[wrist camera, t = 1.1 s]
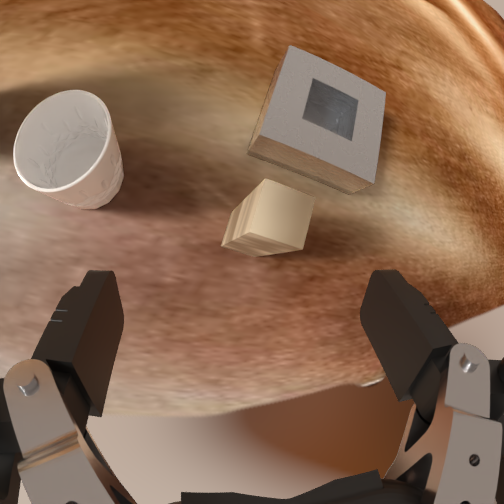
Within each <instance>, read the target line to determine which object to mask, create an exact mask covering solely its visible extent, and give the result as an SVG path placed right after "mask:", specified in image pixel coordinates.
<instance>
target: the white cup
mask: <svg viewBox="0 0 504 504" xmlns="http://www.w3.org/2000/svg"><path fill="white" fill-rule="evenodd" d="M13 158H14V165H15V168H16V171H17V173H18V175H19V177H20V178H21V180H22V181H23V182H24V183H25V184H26V185H28V186H29V187H31V188H32V189H35V190H37V191H39V192H41V193H43V194H45V195H47V196H49V197H51V198H53V199H55V200H58V201H61V202H63V203H65V204H68V205H72V206H75V207H77V208H79V209H97V208H99V207H101V206H103V205H105V204H107V203H109V202H110V201H111V200H112V198H113V197H114V196H115V195H116V194H117V193H118V191H119V190H120V187H121V183H122V180H123V177H124V171H123V163H122V158H121V153H120V149H119V145H118V141H117V138H116V134H115V131H114V128H113V124H112V121H111V117H110V113H109V111H108V109H107V107H106V105H105V104H104V102H103V101H102V100H101V99H100V98H99V97H97V96H96V95H94V94H92V93H90V92H87V91H83V90H67V91H62V92H59V93H56V94H54V95H52V96H50V97H48V98H46V99H45V100H43V101H42V102H40V103H39V104H38V105H37V106H36V107H35V108H34V109H33V110H32V111H31V112H30V113H29V114H28V115H27V117H26V118H25V119H24V121H23V123H22V124H21V126H20V128H19V130H18V133H17V136H16V139H15V143H14V150H13Z"/></svg>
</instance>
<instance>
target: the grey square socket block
mask: <svg viewBox="0 0 504 504" xmlns="http://www.w3.org/2000/svg"><path fill="white" fill-rule="evenodd" d="M385 96H386V92H384V91H382V90H380V89H379V88H377V87H375V86H374V85H372V84H370V83H368V82H366V81H365V80H363V79H361V78H359V77H357V76H355V75H353V74H352V73H350V72H348V71H346V70H344V69H342V68H340V67H338V66H336V65H334V64H332V63H330V62H327V61H325V60H323V59H321V58H319V57H317V56H314V55H312V54H310V53H308V52H305V51H303V50H301V49H298V48H296V47H294V46H291V45H290V46H289V47H288V49H287V51H286V52H285V54H284V56H283V58H282V59H281V61H280V63H279V65H278V66H277V68H276V70H275V73H274V76H273V79H272V81H271V84H270V87H269V90H268V93H267V96H266V99H265V101H264V104H263V107H262V110H261V113H260V116H259V119H258V122H257V125H256V128H255V131H254V134H253V136H252V139H251V142H250V145H249V148H248V151H247V154H248V155H251V156H254V157H256V158H259V159H262V160H265V161H267V162H270V163H273V164H275V165H278V166H281V167H283V168H286V169H288V170H291V171H293V172H296V173H298V174H301V175H303V176H306V177H308V178H311V179H313V180H316V181H318V182H321V183H323V184H325V185H328V186H330V187H332V188H335V189H337V190H339V191H342V192H344V193H346V194H348V195H349V194H351V193H354V192H356V191H359V190H361V189H363V188H366V187H368V186H370V185H373V184H374V182H375V176H376V169H377V163H378V156H379V149H380V141H381V133H382V125H383V116H384V106H385Z"/></svg>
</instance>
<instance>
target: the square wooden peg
mask: <svg viewBox="0 0 504 504" xmlns="http://www.w3.org/2000/svg"><path fill="white" fill-rule="evenodd" d="M315 199H316V197H314V196H311V195H308V194H306V193H303V192H301V191H298V190H296V189H293V188H290V187H288V186H285V185H283V184H280V183H277V182H275V181H272V180H269V179H266V178H265V179H264V180H263V181H262V182H261V183H260V184H259V185H258V186H257V187H256V188H255V189H254V190H253V191H252V192H251V193H250V194H249V195H248V196H247V197H246V198H245V199H244V200H243V201H242V202H241V203H240V204H239V205H238V206H237V207H236V208H235V209H234V210H233V211H232V212H231V214H230V218H229V221H228V224H227V227H226V231H225V234H224V237H223V241H222V244H221V247H224V248H227V249H230V250H234V251H237V252H240V253H243V254H246V255H250V256H253V257H258V256H264V255H271V254H277V253H284V252H290V251H297V250H303V246H304V242H305V239H306V235H307V231H308V227H309V223H310V219H311V215H312V211H313V207H314V203H315Z"/></svg>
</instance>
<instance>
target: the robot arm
mask: <svg viewBox="0 0 504 504" xmlns="http://www.w3.org/2000/svg"><path fill="white" fill-rule="evenodd" d="M360 320H361V324H362V326H363V328H364V330H365V332H366V334H367V336H368V338H369V340H370V342H371V344H372V346H373V348H374V350H375V352H376V354H377V356H378V359H379V361H380V363H381V365H382V367H383V369H384V371H385V373H386V375H387V377H388V379H389V381H390V384H391V386H392V388H393V390H394V392H395V394H396V397H397V399H398V401H399V402H401V401H405V400H408V399H413V400H414V402H415V404H414V405H413V407H412V408H411V411H410V414H409V418H408V422H407V425H406V429H405V432H404V436H403V439H402V442H401V445H400V448H399V451H398V454H397V457H396V459H395V461H394V462H393V464H392V466H391V467H390V468H389V470H388V471H387V473H386V475H385V477H384V479H381V478H380V475H379V472H378V470H373V471H370V472H366V473H362V474H358V475H355V476H350V477H345V478H341V479H337V480H333V481H331V482H329V483H327V484H324V485H322V486H320V487H318V488H315V489H313V490H311V491H308V492H306V493H303V494H301V495H298V496H296V497H293V498H290V499H276V498H267V497H259V496H252V495H245V494H239V493H234V492H229V493H227V492H226V493H191V492H181V501H179V502H173V503H170V504H494V501H495V499H496V501H497V504H504V358H503V359H502V360H488V359H487V357H486V356H485V355H484V353H483V352H482V351H481V350H479V349H478V348H477V347H475V346H473V345H470V344H467V343H460V344H459V343H458V342H457V340H456V339H455V338H454V336H453V335H452V333H451V332H450V331H449V329H448V328H447V326H446V325H445V324H444V322H443V321H442V320H441V318H440V317H439V315H438V314H436V311H435V310H434V309H433V307H432V306H431V305H429V302H428V301H427V300H426V298H425V297H424V296H423V294H422V293H421V292H420V291H418V290H417V289H416V288H414V287H413V286H411V285H410V284H408V283H407V281H406V280H405V279H404V278H403V276H402V275H401V274H400V273H399V271H397V270H375V271H374V272H373V273H372V275H371V277H370V281H369V284H368V287H367V290H366V293H365V296H364V300H363V303H362V306H361V310H360ZM123 326H124V314H123V308H122V304H121V300H120V296H119V291H118V287H117V282H116V277H115V274H114V272H113V271H97V270H90V271H88V272H87V274H86V276H85V277H84V279H83V281H82V283H81V285H80V287H76V286H74V287H73V288H72V289H70V290H69V291H68V292H67V293H66V294H65V295H64V296H63V297H62V298H61V300H60V302H59V304H58V305H57V307H56V311H54V313H53V315H52V317H51V321H49V323H48V325H47V327H46V329H45V331H44V333H43V335H42V337H41V339H40V341H39V343H38V345H37V347H36V349H35V351H34V353H33V356H32V358H31V359H27V360H23V361H21V362H19V363H17V364H15V365H14V366H13V367H12V368H11V369H10V370H9V371H8V373H7V374H6V376H5V378H1V379H0V504H18V496H19V489H20V481H21V480H22V483H23V485H24V487H25V490H26V492H27V494H28V497H29V499H30V501H31V503H32V504H137V503H136V502H135V500H134V499H133V498H132V496H131V495H130V494H129V492H128V491H127V490H126V489H125V488H124V486H123V485H122V484H121V482H120V481H119V480H118V478H117V477H116V475H115V474H114V472H113V471H112V469H111V468H110V466H109V465H108V463H107V461H106V460H105V458H104V456H103V455H102V453H101V452H100V450H99V448H98V447H97V445H96V443H95V441H94V439H93V438H92V436H91V434H90V432H89V430H88V428H87V427H86V424H87V420H88V416H89V415H90V416H97V417H102V413H103V408H104V403H105V399H106V394H107V390H108V386H109V381H110V377H111V373H112V369H113V365H114V361H115V357H116V353H117V350H118V346H119V342H120V339H121V335H122V331H123Z"/></svg>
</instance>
